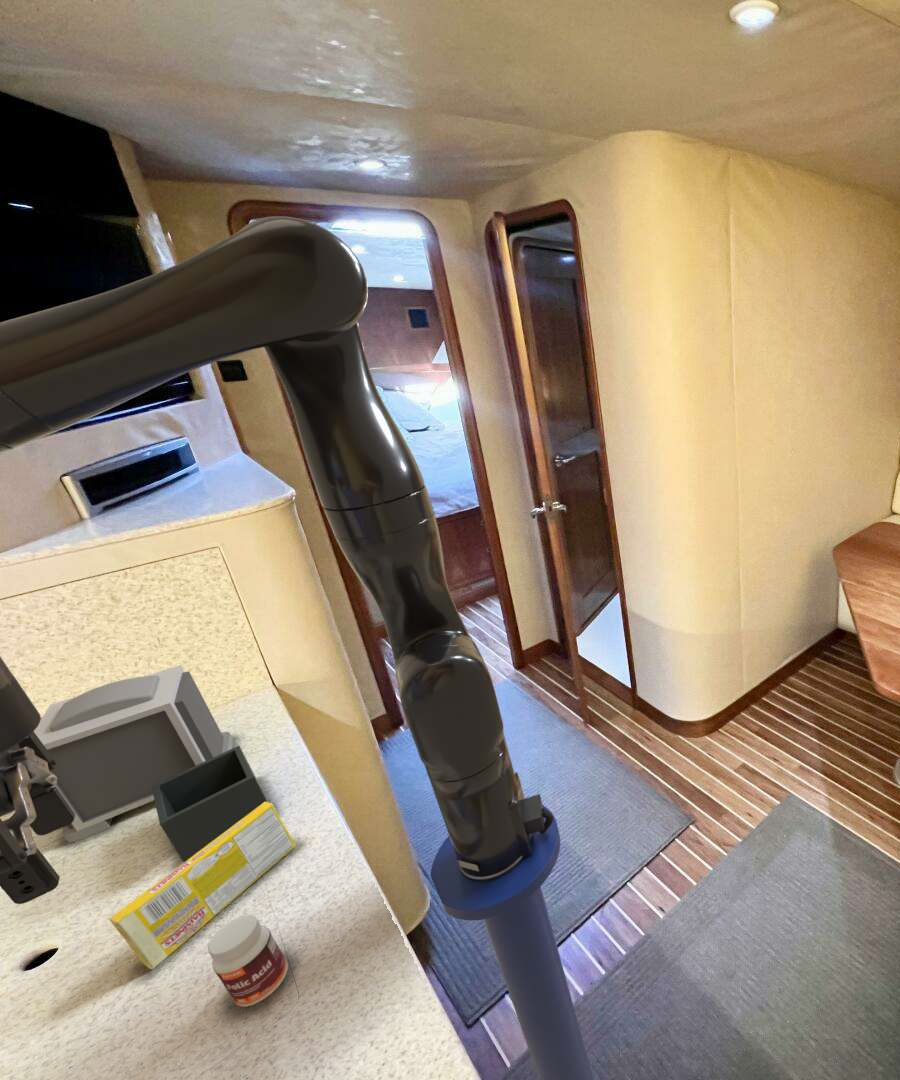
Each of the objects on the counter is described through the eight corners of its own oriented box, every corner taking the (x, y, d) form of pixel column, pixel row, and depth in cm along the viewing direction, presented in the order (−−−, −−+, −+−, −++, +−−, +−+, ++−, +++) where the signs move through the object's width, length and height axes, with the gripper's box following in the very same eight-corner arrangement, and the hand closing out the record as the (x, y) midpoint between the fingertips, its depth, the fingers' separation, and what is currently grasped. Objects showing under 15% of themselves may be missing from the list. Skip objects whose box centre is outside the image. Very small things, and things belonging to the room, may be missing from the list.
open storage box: (273, 814, 80) (254, 776, 77) (184, 864, 73) (159, 824, 70) (257, 781, 86) (239, 745, 84) (174, 824, 80) (151, 786, 77)
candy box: (287, 843, 75) (265, 799, 72) (297, 847, 75) (275, 803, 71) (141, 964, 61) (106, 917, 58) (152, 971, 61) (117, 923, 57)
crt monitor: (233, 736, 97) (189, 651, 90) (229, 778, 87) (180, 687, 81) (87, 791, 87) (26, 700, 80) (65, 846, 77) (-8, 748, 70)
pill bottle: (235, 1019, 56) (201, 969, 52) (234, 982, 59) (202, 933, 56) (291, 983, 59) (262, 933, 55) (287, 949, 62) (259, 901, 59)
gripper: (-14, 718, 35) (107, 884, 41) (28, 641, 45) (121, 784, 51) (-220, 785, 31) (-49, 960, 37) (-123, 682, 40) (-1, 834, 47)
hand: (50, 857), depth 44 cm, fingers open, 8 cm apart
